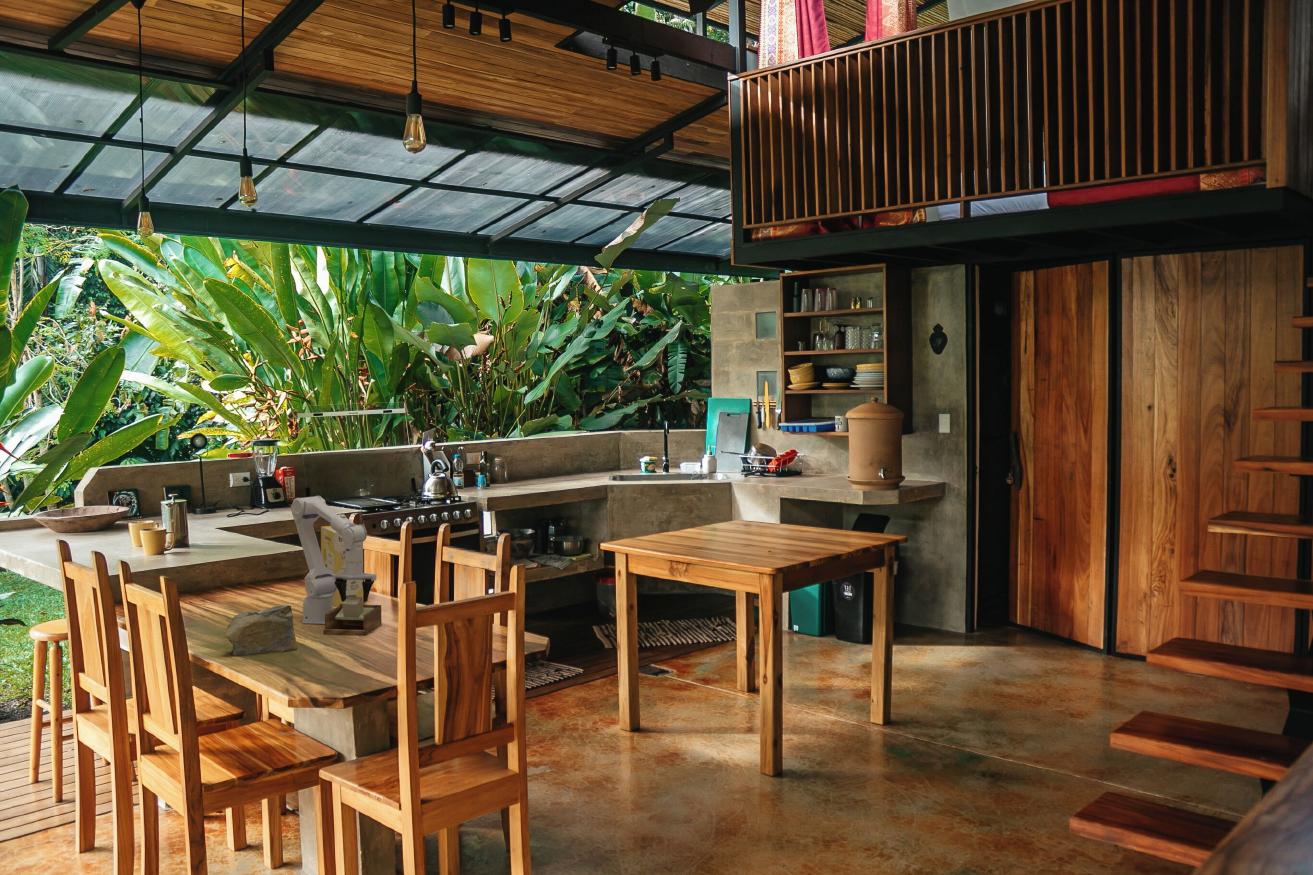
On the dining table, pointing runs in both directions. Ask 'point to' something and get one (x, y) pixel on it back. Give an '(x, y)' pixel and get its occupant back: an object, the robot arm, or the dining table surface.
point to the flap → (341, 616)
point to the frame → (353, 622)
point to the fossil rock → (262, 631)
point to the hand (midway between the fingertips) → (354, 601)
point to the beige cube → (353, 607)
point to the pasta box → (338, 562)
